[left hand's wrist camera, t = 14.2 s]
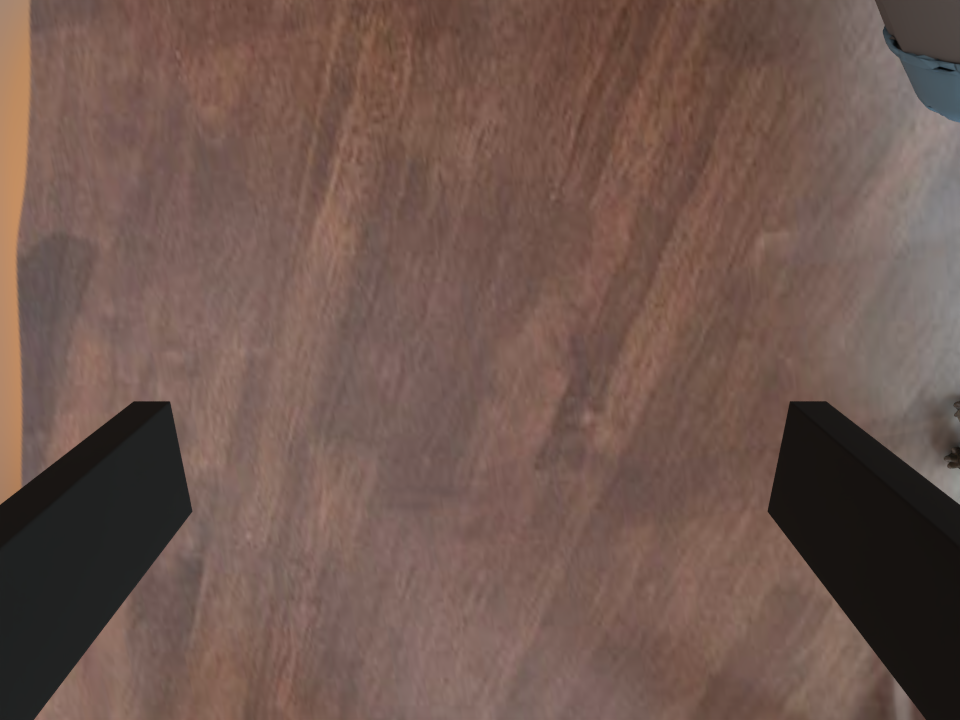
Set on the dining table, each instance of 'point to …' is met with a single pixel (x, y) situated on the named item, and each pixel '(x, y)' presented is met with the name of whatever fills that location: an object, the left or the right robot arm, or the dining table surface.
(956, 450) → the toy dinosaur
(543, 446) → the dining table surface
